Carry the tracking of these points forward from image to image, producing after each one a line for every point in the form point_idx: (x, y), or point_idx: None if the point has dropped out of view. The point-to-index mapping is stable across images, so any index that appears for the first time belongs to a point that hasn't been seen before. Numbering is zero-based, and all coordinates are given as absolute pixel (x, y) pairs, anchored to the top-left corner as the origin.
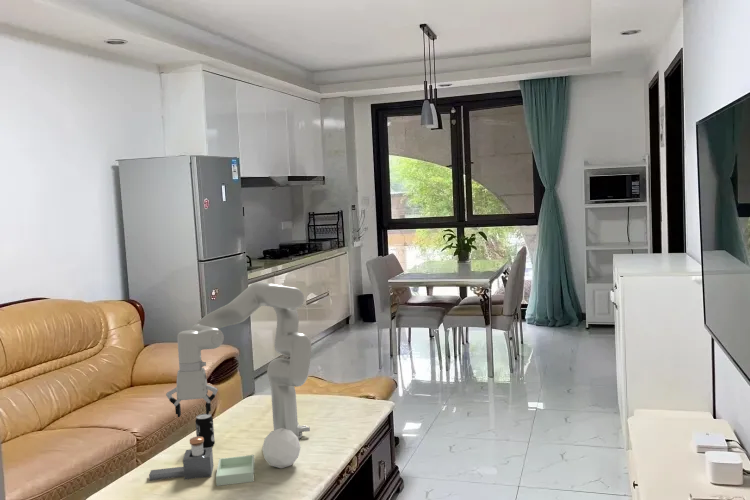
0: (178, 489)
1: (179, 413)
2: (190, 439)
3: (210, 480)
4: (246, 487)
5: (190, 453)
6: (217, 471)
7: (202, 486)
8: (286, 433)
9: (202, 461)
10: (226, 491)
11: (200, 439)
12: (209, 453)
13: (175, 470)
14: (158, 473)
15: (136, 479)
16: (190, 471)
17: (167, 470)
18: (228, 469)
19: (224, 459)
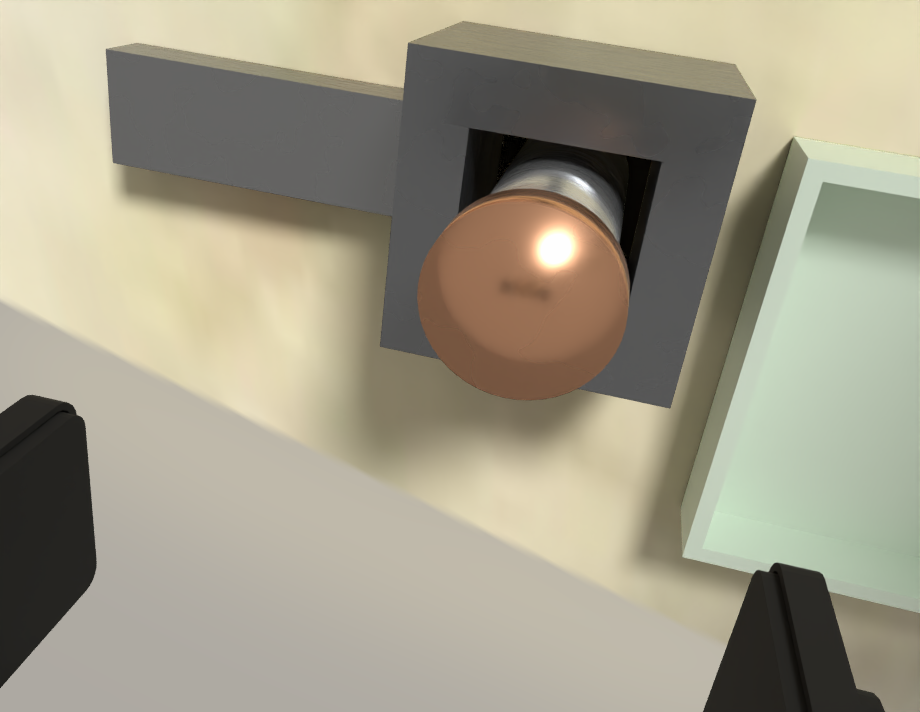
0: (391, 426)
1: (44, 631)
2: (430, 280)
3: None
4: (899, 637)
5: (462, 188)
6: (716, 470)
7: (572, 463)
8: None
9: None
10: (735, 621)
11: (573, 352)
12: (683, 309)
13: (338, 169)
14: (190, 168)
15: (25, 69)
16: None
17: (262, 131)
18: (857, 281)
19: (864, 185)
